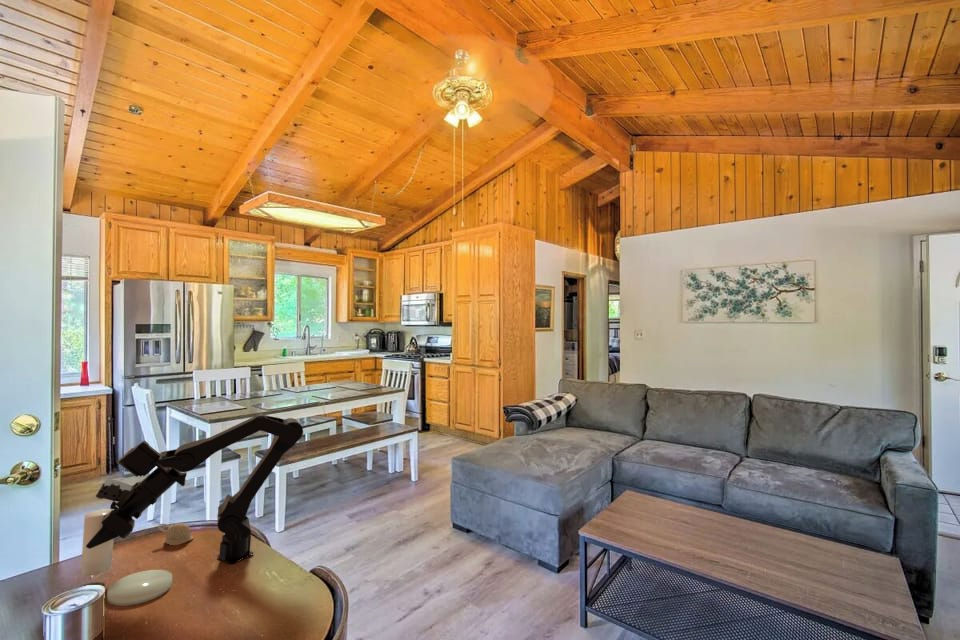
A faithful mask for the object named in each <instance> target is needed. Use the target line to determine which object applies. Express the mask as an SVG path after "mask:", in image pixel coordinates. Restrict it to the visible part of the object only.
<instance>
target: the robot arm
mask: <svg viewBox="0 0 960 640" xmlns="http://www.w3.org/2000/svg"><path fill="white" fill-rule="evenodd" d="M259 431H261V432H264V433H268V434H270V435H273V439H272V441H271V444H270V446H269V447H268V449H267V450H266V452H265V453H264V455H262V458H261V459H260V460H259V462H258V463H257V464H256V466H255V467H254V469H253V470H252V472H251V473H250V474H249V476H248V477H247V478H246V479H245V481H244V483H243V485H241V488H240V489H239V490H238V491H237V492H236V493H235V494H234V495H230V494H227V495H226V496H225V498H224V501H223V502H222V503H221V504H220V505H219V506H217V515H216V516H217V520H216V521H217V522H216V523H217V528H218V530H219V531H220V532H221V533H222V534H223V535H222V536H221V537H222V538H221V542H220V544H219V553H218V555H217V556H216V558H217V557H218V558H217V559H219V558H220V559H219V560H221V559H222V560H221V561H223V560H224V562H225V561H226V562H225V563H227V562H228V564H229V563H231V564H230V565H233V564H235V563H234V562H236V561H238V560H240V559H242V558H244V557H247V556H249V555H251V554H253V553H255V552H253V551H252V550H251V542H252V541H251V540H252V528H251V525H250V518H249V516H247V515H248V514H247V513H248V511H249V508H250V505H251V503H252V500H253V499H254V498H255V496H256V495H257V493H258V492H259V490H260V489H261V487H262V486H263V485H264V483H265V482H266V480H267V479H268V478H269V476H270V475H271V473H272V471H273V470H274V468H275V467H276V465H277V464H278V462H279V461H280V460H281V458H282V457H283V456H284V455H285V453H287V452H288V451H289V450H290V449H292V448H293V447H294V446H295V445H296V444H297V443H298V442H299V440H301V438H302V437H303V435H304V428H303V425H302V424H301V423H300V422H299V421H298V420H297V419H295V418H292V417H291V418H290V417H288V418H285V419H284V418H280V417H276V416H270V415H266V414H264V413H257V414H254V415H253V416H252V417H250V418H248V419H245V420H244V421H241V422H239V423H238V424H235V425H232V426H231V427H229V428H227V429H225V430H223V431H221V432H219V433H216V434H214V435H211V436H210V437H207V438H202V439H198V440H194V441H190V442H186V443H184V444H182V445H179V446H178V447H177V448H176V449H169V450H166V451H161V452H158V451H157V450H156V449H155V448H153V447H152V446H151V445H150V444H149V442H147V441H146V440H143V441H141V442H140V443H139V444H137V445H135V446H134V447H132V448H130V449H129V450H128V451H127V452H125V454H123V455H122V456H121V457H120V458H119V459H117V461H116V463H117V464H118V465H120V467H122V468H123V469H124V470H126V471H127V472H129V473H130V474H131V475H133V476H134V477H135V478H137V477H140V478H141V477H142V476H143V477H145V476H146V477H145V478H143V479H142V480H141V481H137V482H135V483H134V484H133V485H132V484H128V483H126V482H122V481H119V480H115V479H112V478H106V479H105V480H104V482H103V484H102V485H101V486H100V488H99V490H98V491H97V493H96V495H95V497H96V498H97V499H100V500H101V499H102V500H103V499H105V500H108V501H112V503H111V504H110V508H109V509H114V510H112V511H110V512H109V513H108V514H107V515H106V516H104V518H103V519H102V522H101V523H102V527H101V529H100V530H99V531H98V532H97V533H96V534H95V536H94V537H93V538H92V539H91V540H90V541H89V543H88V544H87V545H86V547H87V548H89V549H91V548H93V547H95V546H98V545H100V544H102V543H105V542H107V541H109V540H112V539H114V540H115V539H117V538H119V537H120V538H121V539H126V538H127V537H128V536H129V535H130V534H132V533H133V531H134V528H135V526H136V525H135V521H136V520H138V519H139V518H140V517H142V516H141V515H142V514H143V513H144V511H145V510H146V509H148V508H149V507H150V506H151V505H152V506H153V505H154V504H156V503H157V502H158V499H159V498H160V497H161V496H162V495H163V494H164V493H166V492H167V490H169V489H170V488H171V487H173V485H174V484H175V483H177V484H178V485H180V486H181V487H184V486H185V485H186V482H187V481H186V478H187V473H188V472H190V471H191V470H193V469H195V468H197V467H198V466H199V465H201V464H203V463H204V462H206V460H208V459H209V458H210V457H211V456H213V455H214V454H215V453H217V452H219V451H221V450H223V449H225V448H227V447H229V446H231V445H233V444H235V443H237V442H240V441H241V440H244V439H246V438H248V437H249V436H252V435H254V434H256V433H258V432H259ZM150 472H151V473H150ZM149 473H150V474H149ZM135 519H136V520H135ZM253 555H254V554H253ZM251 556H252V555H251ZM249 557H250V556H249ZM247 558H248V557H247ZM242 560H243V559H242ZM240 561H241V560H240ZM238 562H239V561H238ZM232 563H233V564H232ZM236 563H237V562H236Z"/></svg>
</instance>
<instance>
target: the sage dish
mask: <svg viewBox="0 0 960 640" xmlns="http://www.w3.org/2000/svg"><path fill="white" fill-rule="evenodd" d="M172 585H173V574H172V572H171V571H167V570H165V569H148V570H143V571H138V572H134V573H131V574H128V575H126V576H124V577H121V578H119V579H118V580H116V581H115V582H113V583H112V584H111V585H109V587H108V588H107V590H106V591H107V592H106V601H107V602H108V604H111V605H113V606H117V607H119V606H121V607H124V606H125V607H126V606H133V605H138V604H143V603H146V602H149V601H152V600H154V599H157V598H158V597H161V596H162V595H163V594H165V593H166V592H167V591H169V589H171V587H172Z"/></svg>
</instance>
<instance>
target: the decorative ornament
mask: <svg viewBox="0 0 960 640" xmlns="http://www.w3.org/2000/svg"><path fill="white" fill-rule="evenodd" d="M174 524H175V525H173V524H171V525H170V526H169V524H168V523H159V525H157V529H158V530H159V531H160V532H162V533H165V536H164V537H165V540H164V543H165V544H167V545H168V544H169V546H180V545H182V544H186V543H187V542H190V541H191V540H193V539H194V537H193V536H192V534H191V533H192V530H191V527H190V526H189V525H188V524H185V523H174ZM161 527H166V528H167V529H163V528H161Z"/></svg>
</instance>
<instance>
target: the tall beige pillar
mask: <svg viewBox="0 0 960 640" xmlns="http://www.w3.org/2000/svg"><path fill="white" fill-rule="evenodd" d="M112 510H114V509H110V508H104V509H96V510H93V511H90V512H88V513H86V514H85V515H84V518H83V519H84V520H83V534H82V535H83V536H82V549H81V551H82V552H81V563H80V564H81V565H80V574H81V575H82V576H95V575H96V576H97V575H100V574H102V573H105V572H107V571H108V570H110V569H111V568H112V567H113V557H114V556H113V555H114V553H113V552H114V541H115V538H114V539H112V540H109V541H107V542H105V543H102V544H100V545H98V546H95V547H93V548H91V549H89V548H87V547H86V545H87V544H88V543H89V541H90V540H91V539H92V538H93V537H94V536H95V534H96V533H97V532H98V531H99V530H100V529H101V527H102V523H101V522H102V519H103V518H104V516H106V515H107V514H108V513H109V512H110V511H112Z"/></svg>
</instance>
